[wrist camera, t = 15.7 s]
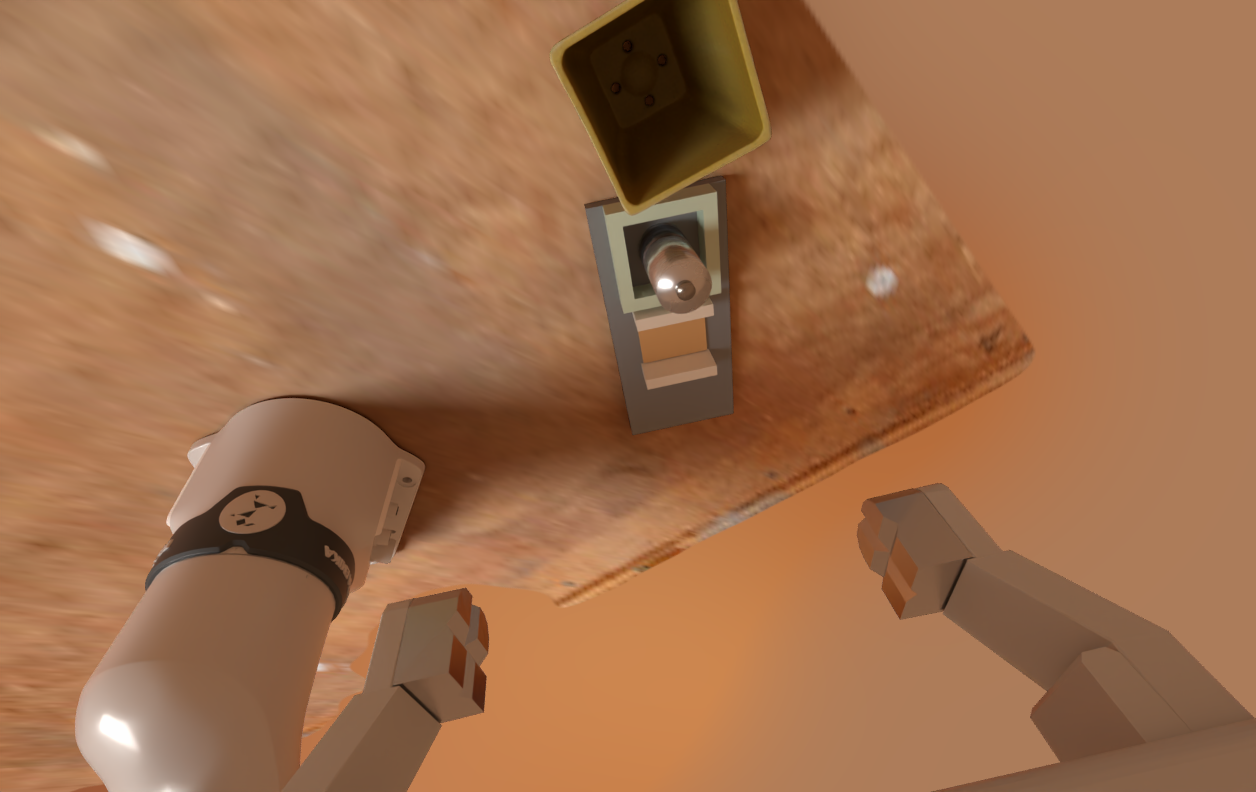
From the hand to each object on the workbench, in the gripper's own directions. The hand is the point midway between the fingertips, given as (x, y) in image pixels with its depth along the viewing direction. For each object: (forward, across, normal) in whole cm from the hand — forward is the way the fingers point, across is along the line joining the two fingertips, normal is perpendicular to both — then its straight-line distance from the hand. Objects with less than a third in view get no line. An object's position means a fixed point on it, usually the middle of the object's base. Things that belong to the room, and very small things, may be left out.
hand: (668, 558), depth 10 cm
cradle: (+31, -5, +14) cm, 35 cm away
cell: (+30, -5, +7) cm, 31 cm away
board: (+31, -5, +14) cm, 34 cm away
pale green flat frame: (+31, -5, +7) cm, 32 cm away
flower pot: (+31, -5, -4) cm, 32 cm away
